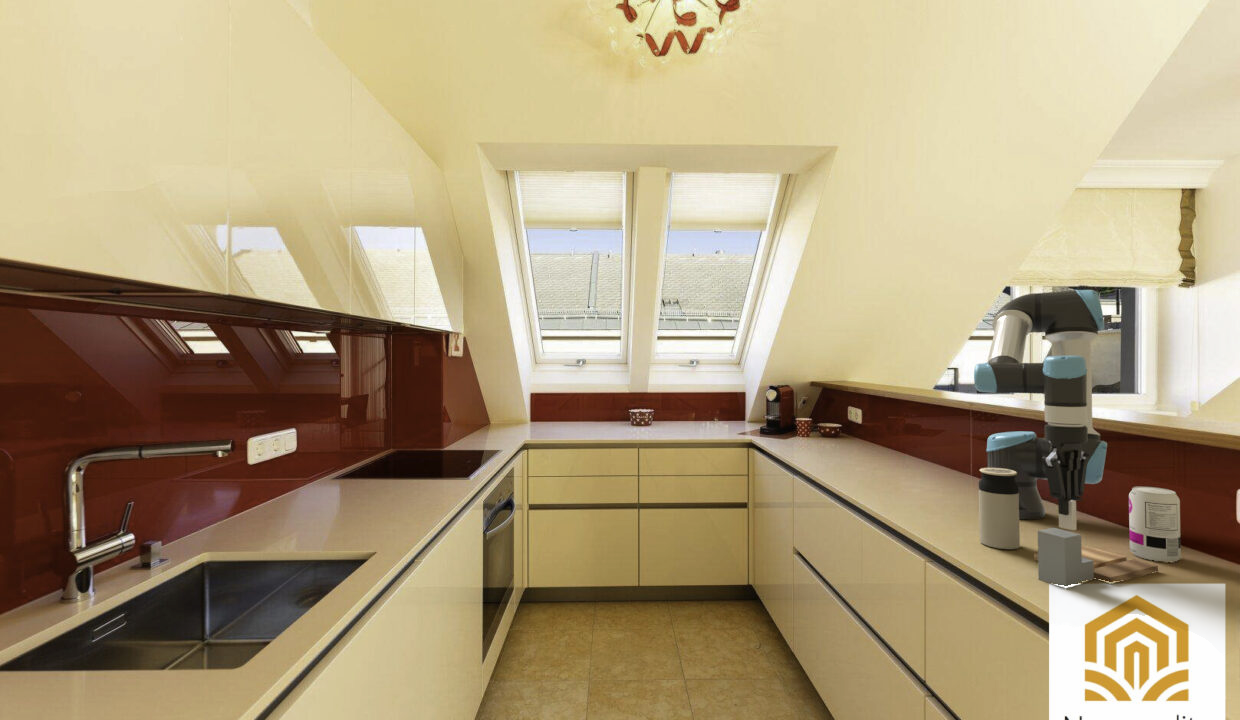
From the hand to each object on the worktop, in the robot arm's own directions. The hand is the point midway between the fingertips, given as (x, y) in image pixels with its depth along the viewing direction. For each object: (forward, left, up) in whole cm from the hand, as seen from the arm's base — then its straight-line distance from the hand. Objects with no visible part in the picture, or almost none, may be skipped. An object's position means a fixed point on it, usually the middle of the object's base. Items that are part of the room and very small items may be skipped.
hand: (1067, 528), depth 123 cm
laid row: (+1, +10, -7) cm, 12 cm away
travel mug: (+6, -12, -7) cm, 15 cm away
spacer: (+14, +8, -7) cm, 17 cm away
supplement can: (-17, +7, -7) cm, 20 cm away
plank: (+1, +3, -7) cm, 7 cm away
